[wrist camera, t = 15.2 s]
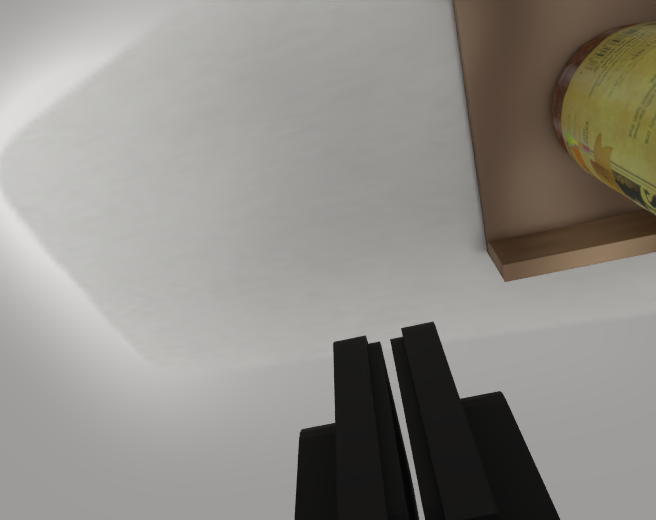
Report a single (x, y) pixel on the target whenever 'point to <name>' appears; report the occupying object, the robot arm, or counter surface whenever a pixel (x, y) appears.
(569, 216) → the tray
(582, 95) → the sauce bottle
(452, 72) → the counter surface
